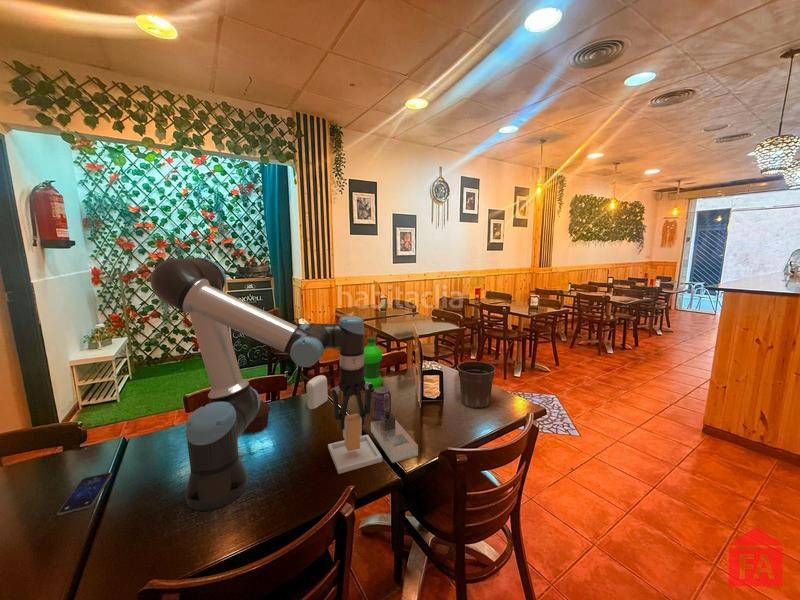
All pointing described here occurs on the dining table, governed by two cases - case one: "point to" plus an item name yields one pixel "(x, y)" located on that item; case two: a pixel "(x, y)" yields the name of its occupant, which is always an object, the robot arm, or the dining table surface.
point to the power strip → (393, 438)
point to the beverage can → (381, 402)
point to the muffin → (259, 419)
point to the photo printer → (316, 391)
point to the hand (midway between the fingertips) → (352, 436)
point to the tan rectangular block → (353, 432)
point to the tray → (354, 455)
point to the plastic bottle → (372, 363)
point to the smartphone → (85, 494)
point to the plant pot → (476, 383)
